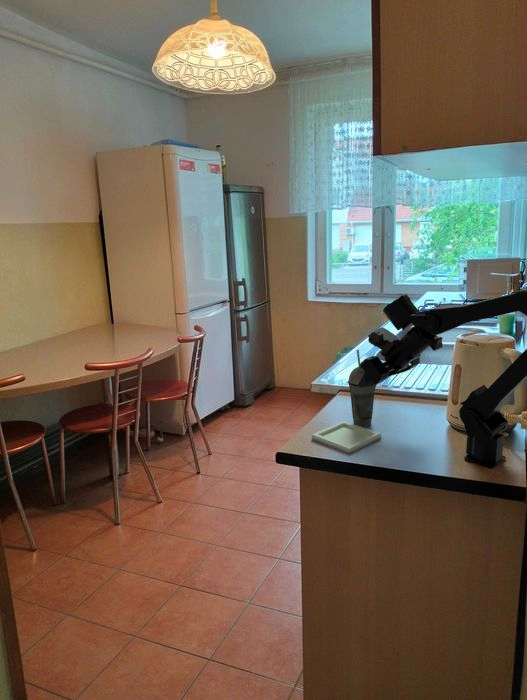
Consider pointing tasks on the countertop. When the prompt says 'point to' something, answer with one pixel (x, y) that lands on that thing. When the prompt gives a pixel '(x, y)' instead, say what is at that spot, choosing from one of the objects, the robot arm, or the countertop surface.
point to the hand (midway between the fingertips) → (370, 381)
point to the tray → (346, 436)
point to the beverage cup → (361, 398)
